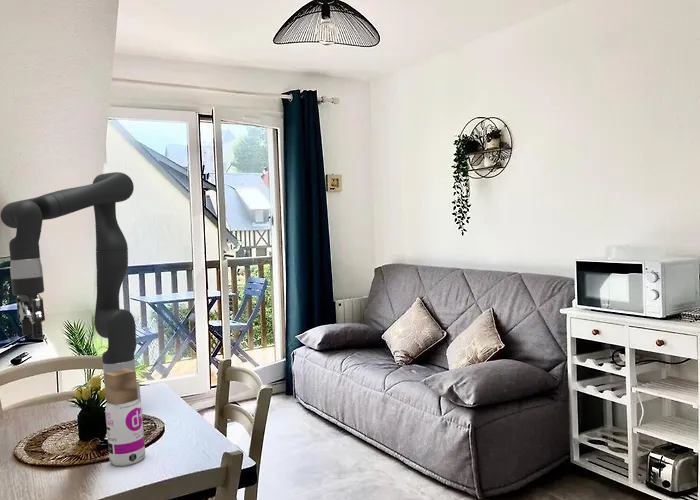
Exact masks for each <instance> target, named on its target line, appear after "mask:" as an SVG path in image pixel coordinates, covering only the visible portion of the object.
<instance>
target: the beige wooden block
mask: <svg viewBox="0 0 700 500" xmlns="http://www.w3.org/2000/svg"><path fill="white" fill-rule="evenodd" d="M104 380H105V384H104V392H105V391H106V395H105V402H106V401H107V402H109V403H112V404H115V405H118V404H122V403H126V402H129V401H133V400H137V399H138V393H137V371H136V370H135V371H134V370H130V369H127V368H125V369H120V370H116V371H111V372H107V373H104V372H103V381H104Z"/></svg>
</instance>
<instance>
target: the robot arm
mask: <svg viewBox="0 0 700 500" xmlns="http://www.w3.org/2000/svg"><path fill="white" fill-rule="evenodd" d="M134 187H135V186H134V182H133V180H132V178H131V177H130V176H129V175H128V174H126V173H124V172H119V171H113V172H108V173H107V172H106V173H101V174H99V175H98V174H97V176H95V178H94V179H93V181H92V183H90V184H86V185H81V186H80V185H79V186H76V187H70V188H64V189H61V190H56V191H52V192H49V193H45V194H42V195H38V196H36V197H32V198H31V197H30V198H27V199H22V200H18V201H13V202H9V203H8V204H6V205H4V207H3V208H2V209H1V211H0V219H1V220H0V221H1V222H2V224H4V225H5V226H6V227H8V228H10V229H16V233H15V237H14V238H12V239H10V241H9V243H8V245H9V246H8V248H9V258H10V264H9V265H10V268H9V270H10V272H9V273H10V283H11V292H12V295H13V296H15V297H16V296H18V297H16V300H15V301H16V312H17V319H18V320H19V322H20V323H21V332H22V333H21V334H22V336H24V337H27V336H32V338H33V339H39V338H40V339H41V338H43V334H44V333H43V322H45V321H46V316H45V309H44V308H45V307H44V299H43V297H40V298H38V294H42V293H44V292H45V283H44V274H43V264H42V261H41V254H40V253H41V251H40V239H41V233H42V227H43V221H45V220H53V219H57V218H60V217H63V216H67V215H70V214H72V213H75V212H78V211H81V210H84V209H87V208H91V207H93V209H94V210H93V211H94V219H95V220H94V221H95V224H94V225H95V226H94V227H95V264H96V265H95V266H96V302H95V310H94V329H95V331H96V333H97V334H98V336H99V337H102V338H104V339H107V350H106V351H104V352H103V353H102V355H101V359H102V360H101V361H102V368H103V369H102V372H103V374H104V373H107V372H111V371H116V370H120V369H125V368H127V369H130V370H134V371H136V362H135V360H136V359H135V352H136V349H137V331H136V330H137V329H136V328H137V327H136V321H135V318H134V315H133V313H132V312H130V311H129V310H128V309H123V308H121V307H120V292H121V287H122V284H123V281H124V279H125V277H126V274H127V271H128V267H129V249H128V247H129V246H128V242H127V240H126V237H125V235H124V233H123V231H122V229H121V228H120V225H119V223H118V220H117V214H116V213H117V209H116V208H117V207H116V206H117V205H116V204H117V203H122V202H124V201H126V200H129V199H130V198H131V196H132V195H133V194H134V191H135V190H134ZM19 296H20V297H19ZM103 381H104V382H103V383H104V385H105V380H104V379H103ZM136 382H137V381H136ZM137 393H138V400H139V401H140V403H141V404H142V400H141V398H142V397H141V387H140V382H137ZM107 403H108V402H106V401H105V405H106V406H107ZM141 410H143V409H142V408H141Z"/></svg>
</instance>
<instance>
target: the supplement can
mask: <svg viewBox="0 0 700 500" xmlns="http://www.w3.org/2000/svg"><path fill="white" fill-rule="evenodd" d="M141 409H142V402H141V403H140V401H139V400H138V399H137V400H133V401H129V402H126V403H122V404H118V405H115V404H112V403H109V402H108V403H107V406H106V407H105V409H104V410H105V411H104V413H105V424H106V435H107V444H108V445H107V446H108V456H109V462H110V464H112V465H113V466H116V467H124V466H125V467H126V466H130V465H133V464H136V463H138V462H141V461H142V460H143V459H144V457H145V456H146V445H145V434H144V425H143V413H142V412H143V411H142V410H143V409H142V410H141Z"/></svg>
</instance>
